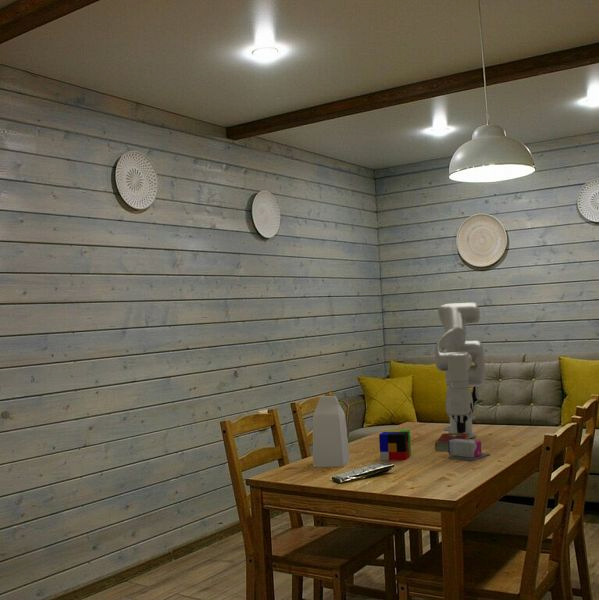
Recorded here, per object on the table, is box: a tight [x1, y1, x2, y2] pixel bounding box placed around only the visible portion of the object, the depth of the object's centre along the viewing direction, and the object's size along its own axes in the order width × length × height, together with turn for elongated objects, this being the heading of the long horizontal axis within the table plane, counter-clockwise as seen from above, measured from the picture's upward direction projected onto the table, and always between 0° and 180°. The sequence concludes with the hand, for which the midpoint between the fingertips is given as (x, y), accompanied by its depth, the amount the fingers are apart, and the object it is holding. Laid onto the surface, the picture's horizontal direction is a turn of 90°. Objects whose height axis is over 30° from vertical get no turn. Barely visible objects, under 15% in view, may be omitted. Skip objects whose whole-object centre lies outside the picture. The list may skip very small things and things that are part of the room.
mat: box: [448, 452, 491, 462], centre depth 284 cm, size 10×13×1 cm
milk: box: [312, 395, 351, 468], centre depth 287 cm, size 12×12×26 cm
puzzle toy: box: [378, 429, 412, 461], centre depth 291 cm, size 10×10×10 cm
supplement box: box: [448, 438, 483, 458], centre depth 285 cm, size 6×6×12 cm
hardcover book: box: [434, 432, 470, 452], centre depth 309 cm, size 12×21×4 cm, turn 162°
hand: (461, 432), depth 287 cm, fingers closed
